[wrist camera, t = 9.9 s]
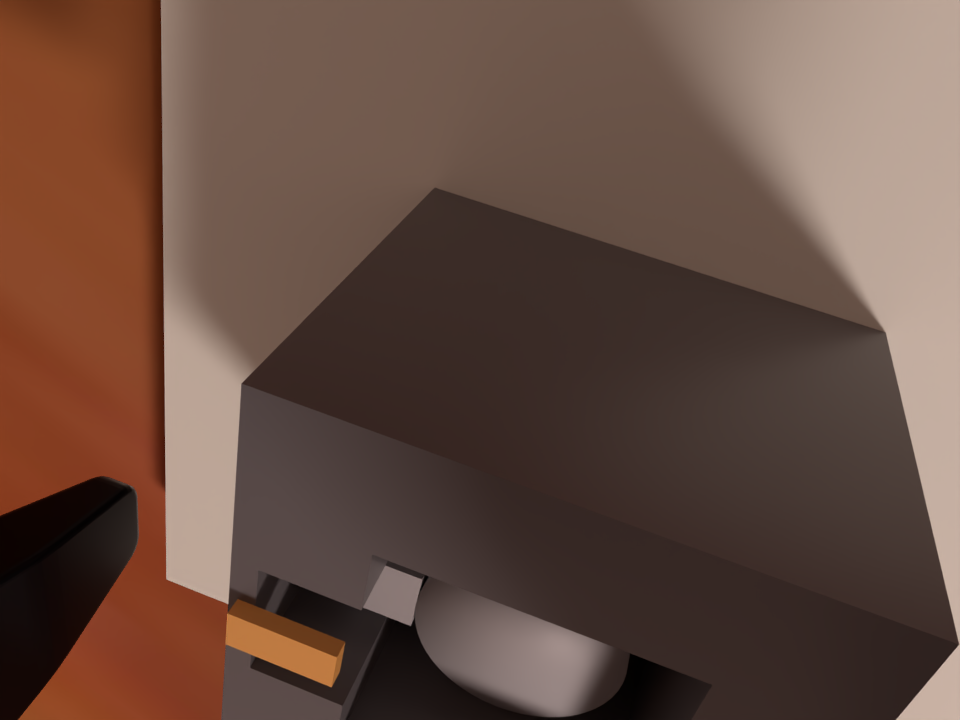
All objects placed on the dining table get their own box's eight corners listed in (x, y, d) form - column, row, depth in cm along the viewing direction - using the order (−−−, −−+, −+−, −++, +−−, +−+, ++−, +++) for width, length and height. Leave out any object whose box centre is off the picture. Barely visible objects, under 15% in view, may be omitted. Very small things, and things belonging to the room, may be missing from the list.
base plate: (1414, 74, 9) (2066, 305, 4) (839, 775, 17) (864, 1116, 12) (228, -232, 11) (-164, -288, 6) (206, 530, 19) (25, 750, 14)
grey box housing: (886, 332, 10) (964, 664, 6) (712, 634, 14) (687, 985, 10) (434, 187, 11) (230, 396, 7) (373, 506, 15) (209, 781, 10)
